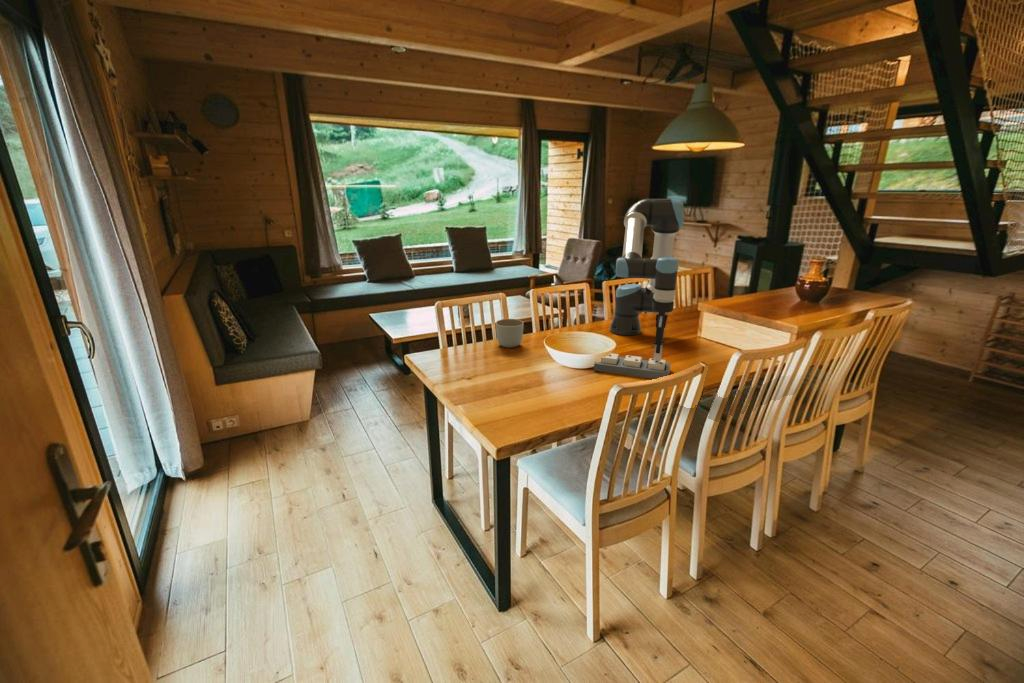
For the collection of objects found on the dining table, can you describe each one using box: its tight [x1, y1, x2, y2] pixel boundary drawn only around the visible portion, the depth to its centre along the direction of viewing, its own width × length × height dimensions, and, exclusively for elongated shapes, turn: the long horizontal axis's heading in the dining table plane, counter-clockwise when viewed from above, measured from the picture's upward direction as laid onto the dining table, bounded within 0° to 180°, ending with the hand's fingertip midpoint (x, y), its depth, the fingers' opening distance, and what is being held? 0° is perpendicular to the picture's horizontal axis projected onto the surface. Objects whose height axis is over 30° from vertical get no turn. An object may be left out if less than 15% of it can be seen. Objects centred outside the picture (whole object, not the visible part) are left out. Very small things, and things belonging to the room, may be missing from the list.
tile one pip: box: [601, 352, 620, 364], centre depth 187 cm, size 6×6×3 cm
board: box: [593, 356, 672, 380], centre depth 185 cm, size 11×28×3 cm, turn 69°
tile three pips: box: [648, 357, 666, 371], centre depth 181 cm, size 6×6×3 cm
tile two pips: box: [624, 354, 643, 367], centre depth 184 cm, size 6×6×3 cm
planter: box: [495, 318, 524, 349], centre depth 213 cm, size 12×12×11 cm
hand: (657, 360), depth 181 cm, fingers closed
